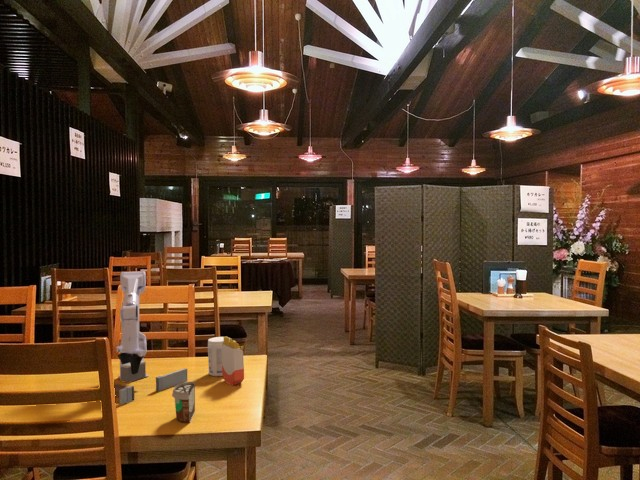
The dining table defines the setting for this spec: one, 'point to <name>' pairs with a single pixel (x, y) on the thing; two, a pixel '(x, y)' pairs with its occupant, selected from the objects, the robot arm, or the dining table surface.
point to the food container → (184, 401)
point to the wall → (157, 384)
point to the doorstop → (131, 372)
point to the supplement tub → (215, 355)
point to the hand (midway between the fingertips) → (131, 372)
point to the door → (119, 387)
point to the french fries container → (232, 362)
